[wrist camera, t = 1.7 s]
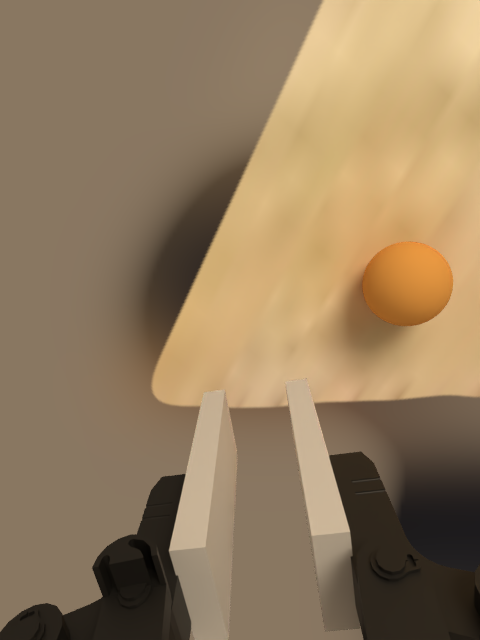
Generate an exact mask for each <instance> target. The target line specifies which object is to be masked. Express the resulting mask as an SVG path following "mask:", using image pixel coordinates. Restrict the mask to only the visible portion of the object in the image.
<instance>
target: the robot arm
mask: <svg viewBox="0 0 480 640" xmlns="http://www.w3.org/2000/svg"><path fill="white" fill-rule="evenodd" d="M285 384H286V391H287V398H288V405H289V412H290V419H291V425H292V433H293V440H294V447H295V453H296V459H297V464H298V471H299V476H300V483H301V489H302V495H303V501H304V507H305V513H306V519H307V525H308V531H309V537H310V543H311V550H312V556H313V562H314V568H315V574H316V580H317V586H318V592H319V598H320V604H321V610H322V616H323V622H324V628H325V631H337V630H348V629H359V628H360V626H361V630H362V634H363V638H364V640H480V565H479V566H478V568H477V569H476V571H475V572H469V571H464V570H459V569H454V568H449V567H445V566H442V565H438V564H436V563H434V562H432V561H430V560H428V559H426V558H425V557H423V556H422V555H421V554H420V553H418V552H417V551H416V550H415V549H414V548H413V547H412V546H411V545H410V543H409V541H408V540H407V538H406V536H405V533H404V531H403V529H402V527H401V524H400V522H399V520H398V518H397V515H396V513H395V511H394V508H393V506H392V504H391V501H390V499H389V497H388V495H387V492H386V491H385V488H384V485H383V483H382V481H381V480H380V476H379V474H378V472H377V469H376V467H375V465H374V463H373V462H372V461H371V460H370V459H369V458H368V457H366V456H365V455H364V454H363V453H362V452H354V453H346V454H338V455H330V456H329V455H328V452H327V448H326V445H325V441H324V438H323V434H322V431H321V427H320V424H319V420H318V416H317V413H316V409H315V406H314V402H313V399H312V395H311V392H310V388H309V385H308V381H307V378H306V379H299V380H291V381H285ZM236 474H237V449H236V443H235V438H234V434H233V428H232V423H231V418H230V413H229V408H228V403H227V398H226V393H225V390H218V391H210V392H204V394H203V399H202V403H201V408H200V412H199V417H198V421H197V426H196V431H195V435H194V440H193V444H192V449H191V453H190V458H189V462H188V467H187V472H186V474H182V475H175V476H165V477H162V478H161V479H160V480H159V481H158V482H157V484H156V485H155V486H154V487H153V489H152V490H151V492H150V495H149V498H148V501H147V504H146V509H145V511H144V514H143V517H142V521H141V523H140V527H139V530H138V533H137V535H128V536H126V537H123V538H120V539H118V540H116V541H115V542H113V543H112V544H110V545H109V546H107V547H106V548H105V549H104V550H103V551H102V553H101V554H100V555H99V556H98V557H97V559H96V561H95V563H94V565H93V571H94V574H95V577H96V579H97V582H98V584H99V587H100V590H101V593H102V595H103V597H102V598H101V599H99V600H98V601H95V602H94V603H91V604H90V605H87V606H85V607H82V608H80V609H77V610H76V611H73V612H70V613H68V614H65V615H62V613H61V612H60V610H59V609H58V607H57V606H55V605H51V604H48V603H46V604H39V605H35V606H32V607H30V608H28V609H26V610H24V611H22V612H21V613H19V615H17V616H16V617H14V618H13V619H12V620H11V621H9V622H8V623H7V625H6V626H5V627H4V628H3V630H2V631H1V632H0V640H189V638H190V631H191V630H192V633H193V636H194V640H229V621H230V600H231V579H232V558H233V538H234V537H233V536H234V515H235V496H236V495H235V494H236ZM359 622H360V624H359Z"/></svg>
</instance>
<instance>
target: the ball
mask: <svg viewBox="0 0 480 640" xmlns="http://www.w3.org/2000/svg"><path fill="white" fill-rule="evenodd" d="M362 288H363V294H364V298H365V301H366V303H367V304H368V306H369V308H370V309H371V310H372V312H373V313H374V314H376V315H377V316H378V317H379V318H381V319H382V320H384V321H386V322H388V323H391V324H394V325H399V326H413V325H418V324H422V323H424V322H427V321H429V320H431V319H432V318H434V317H435V316H437V315H438V314H439V313H440V312H441V311H442V310H443V309H444V307H445V306H446V305H447V303H448V301H449V299H450V296H451V293H452V288H453V276H452V272H451V269H450V266H449V264H448V262H447V261H446V260H445V258H444V257H443V256H442V255H441V254H440V253H439V252H438V251H436V250H435V249H433V248H432V247H430V246H428V245H425V244H422V243H417V242H401V243H396V244H393V245H390V246H388V247H386V248H385V249H383V250H381V251H380V252H379V253H377V254H376V255H375V256H374V257H373V259H372V260H371V261H370V263H369V264H368V266H367V268H366V270H365V273H364V276H363V282H362Z"/></svg>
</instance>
